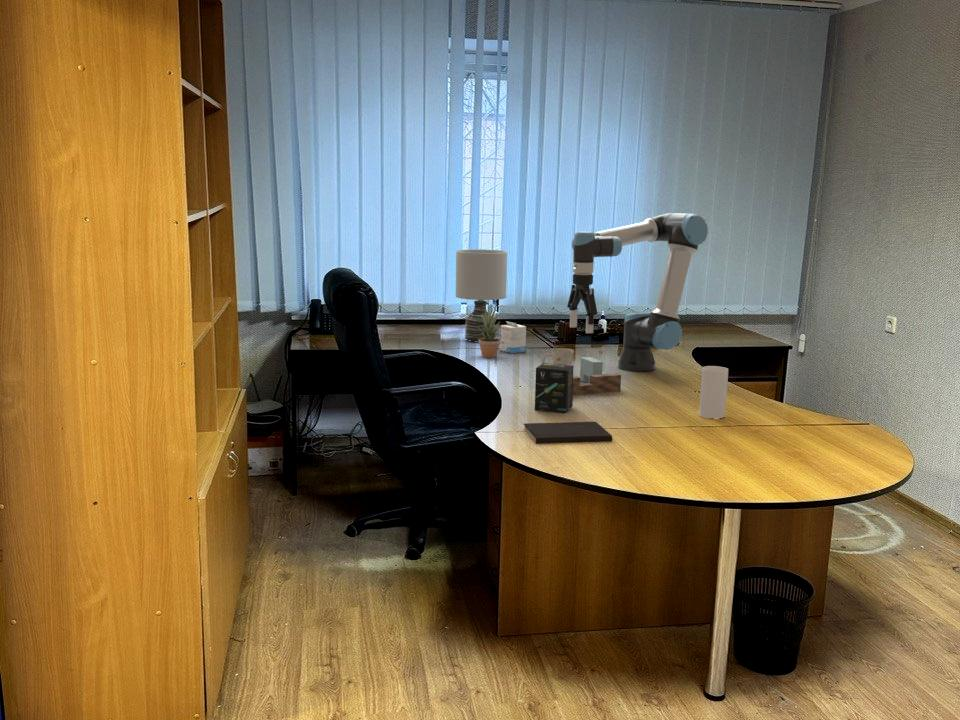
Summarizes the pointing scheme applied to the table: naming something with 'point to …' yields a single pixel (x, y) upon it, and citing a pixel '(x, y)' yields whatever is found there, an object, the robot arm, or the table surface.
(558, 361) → the mug
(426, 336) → the table surface
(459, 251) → the lamp
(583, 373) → the blue-grey notched block
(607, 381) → the walnut rail
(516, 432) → the table surface
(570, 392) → the tampon box
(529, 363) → the table surface
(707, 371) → the cup
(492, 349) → the potted plant
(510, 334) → the white box
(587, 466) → the table surface
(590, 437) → the hardcover book
